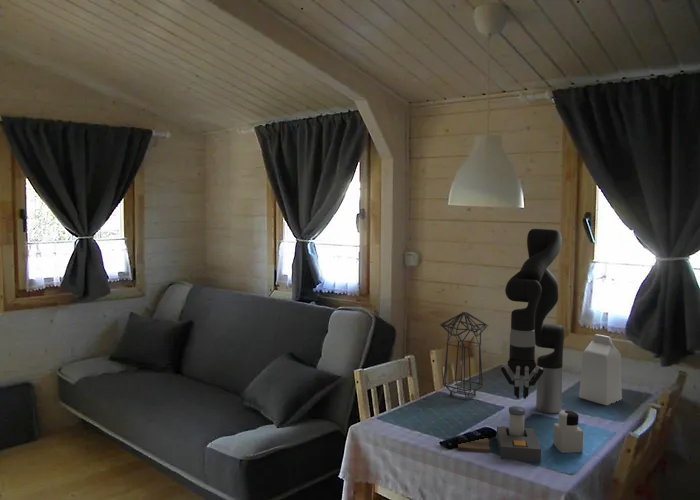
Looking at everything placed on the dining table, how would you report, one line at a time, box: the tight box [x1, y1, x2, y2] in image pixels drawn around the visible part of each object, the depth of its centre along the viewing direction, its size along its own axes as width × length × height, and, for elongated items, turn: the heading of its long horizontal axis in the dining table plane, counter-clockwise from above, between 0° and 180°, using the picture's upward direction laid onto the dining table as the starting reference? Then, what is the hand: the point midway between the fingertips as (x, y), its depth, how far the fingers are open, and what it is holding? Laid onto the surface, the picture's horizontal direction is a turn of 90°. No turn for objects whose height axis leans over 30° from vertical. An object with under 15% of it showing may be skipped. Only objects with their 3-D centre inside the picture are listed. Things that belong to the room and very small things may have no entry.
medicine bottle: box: [552, 410, 584, 454], centre depth 193 cm, size 7×7×12 cm
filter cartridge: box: [508, 405, 526, 437], centre depth 196 cm, size 5×5×12 cm
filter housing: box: [495, 425, 542, 463], centre depth 193 cm, size 17×12×4 cm
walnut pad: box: [457, 434, 491, 453], centre depth 196 cm, size 10×10×1 cm
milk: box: [578, 333, 623, 406], centre depth 241 cm, size 12×12×26 cm
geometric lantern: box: [439, 311, 489, 401], centre depth 245 cm, size 16×16×35 cm
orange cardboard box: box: [513, 440, 527, 447], centre depth 187 cm, size 4×4×4 cm
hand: (520, 397), depth 186 cm, fingers closed
